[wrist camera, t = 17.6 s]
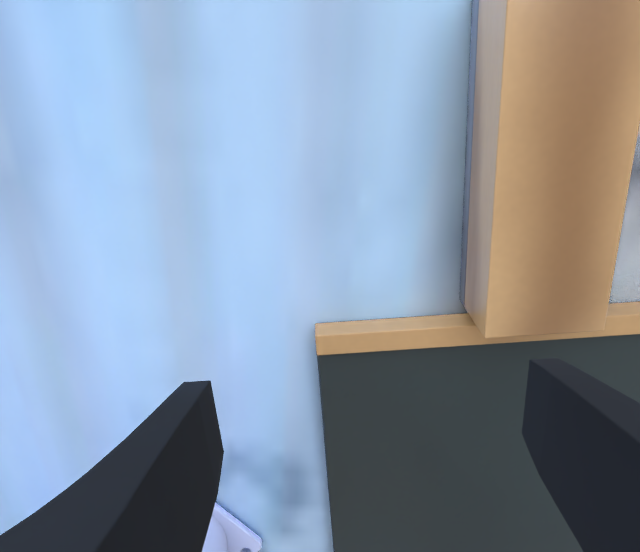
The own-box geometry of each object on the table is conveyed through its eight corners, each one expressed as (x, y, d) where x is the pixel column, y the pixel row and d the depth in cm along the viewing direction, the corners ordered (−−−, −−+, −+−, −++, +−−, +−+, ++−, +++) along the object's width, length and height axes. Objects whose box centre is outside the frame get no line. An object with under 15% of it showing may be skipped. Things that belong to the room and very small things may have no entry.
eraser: (458, 300, 21) (484, 339, 18) (472, -10, 17) (509, -31, 14) (560, 293, 21) (604, 331, 18) (601, -20, 17) (669, -43, 14)
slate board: (343, 663, 31) (344, 685, 30) (314, 323, 22) (314, 335, 21) (656, 646, 31) (669, 667, 30) (763, 292, 21) (787, 304, 20)
